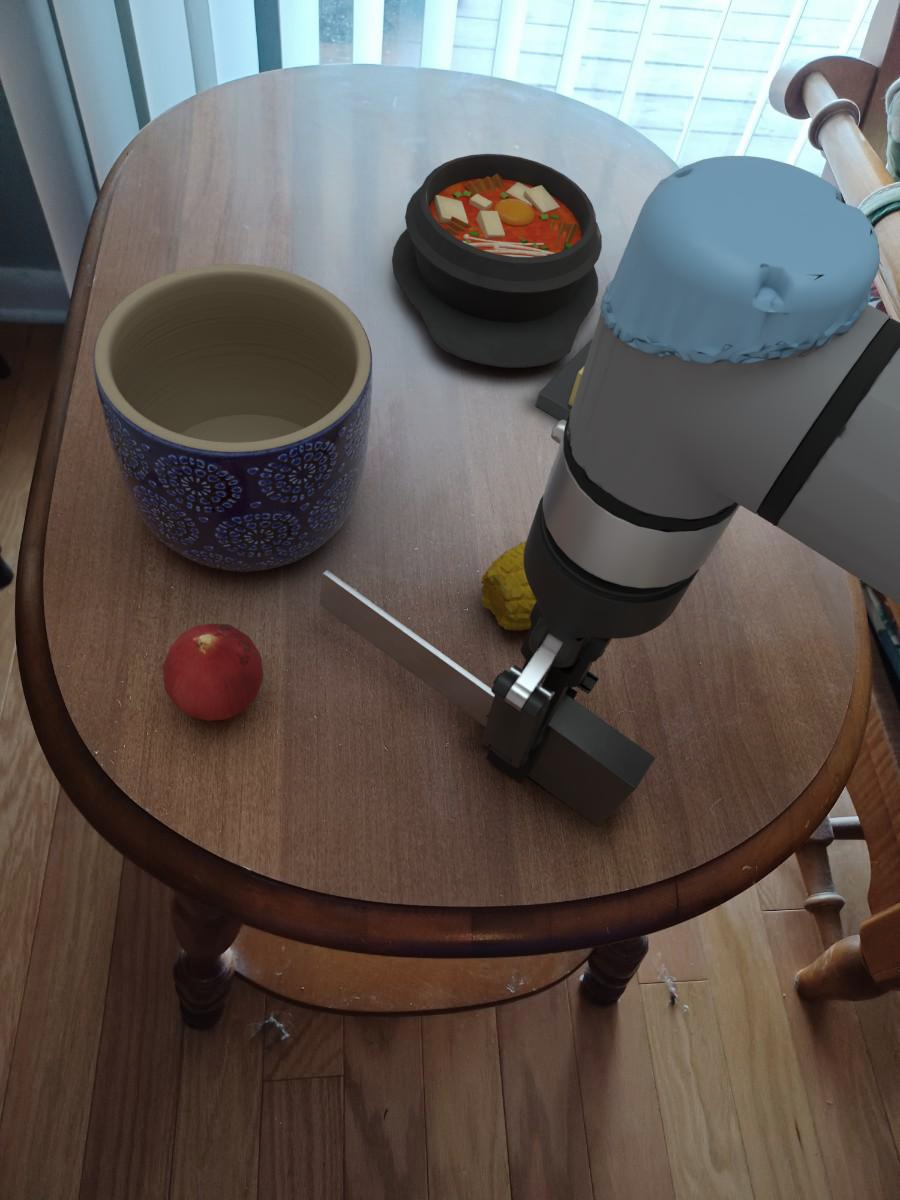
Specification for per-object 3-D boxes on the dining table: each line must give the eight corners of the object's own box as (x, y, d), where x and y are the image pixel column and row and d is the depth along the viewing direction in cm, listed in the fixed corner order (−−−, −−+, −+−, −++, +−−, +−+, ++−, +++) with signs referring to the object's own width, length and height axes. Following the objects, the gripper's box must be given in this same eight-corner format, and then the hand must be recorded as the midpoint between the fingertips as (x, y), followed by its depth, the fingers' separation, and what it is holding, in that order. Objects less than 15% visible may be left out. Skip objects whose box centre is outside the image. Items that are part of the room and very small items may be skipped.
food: (510, 658, 65) (527, 610, 60) (464, 598, 67) (476, 548, 62) (728, 538, 73) (758, 487, 68) (680, 488, 75) (706, 436, 70)
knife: (616, 798, 60) (655, 757, 54) (597, 827, 59) (636, 788, 53) (332, 591, 64) (340, 532, 58) (309, 614, 63) (315, 556, 57)
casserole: (608, 392, 80) (636, 313, 73) (388, 376, 78) (396, 293, 71) (579, 212, 94) (600, 131, 87) (391, 194, 92) (398, 109, 85)
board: (714, 375, 83) (720, 362, 82) (639, 466, 76) (644, 454, 75) (616, 322, 86) (621, 308, 84) (535, 406, 78) (538, 392, 77)
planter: (137, 423, 72) (101, 257, 60) (355, 422, 75) (364, 263, 63) (123, 606, 63) (78, 455, 51) (371, 597, 66) (385, 451, 54)
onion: (211, 645, 62) (199, 576, 56) (283, 689, 61) (279, 624, 55) (152, 711, 59) (132, 646, 53) (226, 758, 58) (215, 698, 52)
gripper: (633, 385, 46) (534, 635, 65) (450, 591, 38) (400, 805, 57) (772, 464, 44) (628, 696, 64) (610, 696, 36) (502, 880, 56)
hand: (520, 748), depth 61 cm, fingers closed on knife, 2 cm apart
